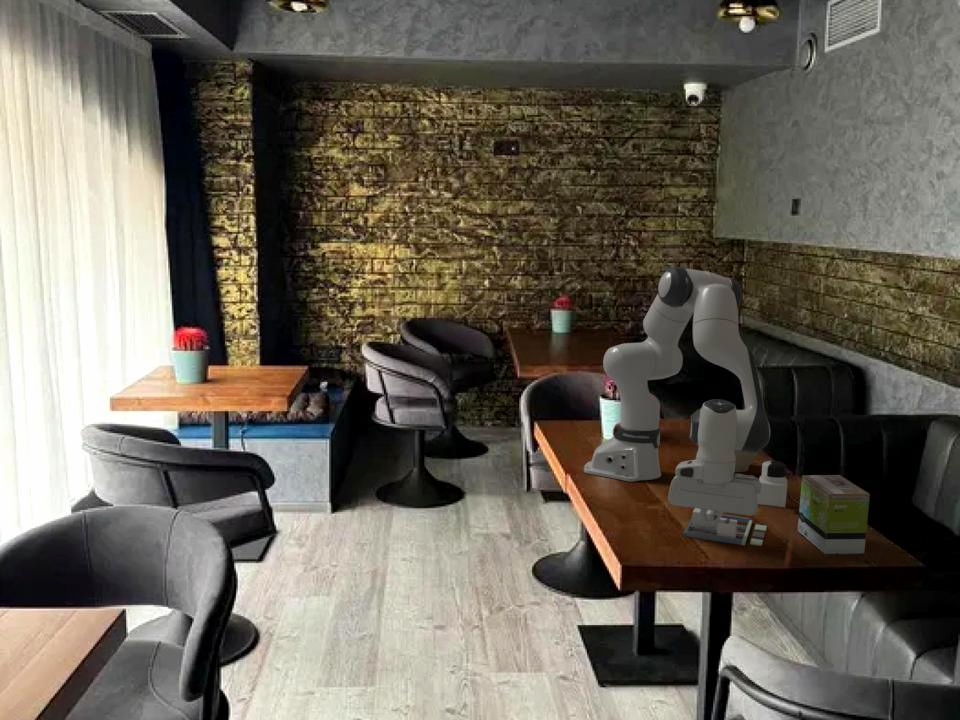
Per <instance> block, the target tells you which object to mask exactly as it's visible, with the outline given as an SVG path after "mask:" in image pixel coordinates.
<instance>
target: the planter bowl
mask: <svg viewBox="0 0 960 720" xmlns="http://www.w3.org/2000/svg"><path fill="white" fill-rule="evenodd" d="M734 453H735V458H736V460H735V472H734V473H743V472H748V470H749V469H750V466H751V464H753V463H754V461H755V460H756V459H757V456H758V455H759V453H760V451H758V452H756V453H751V452H745V451H741V450H734Z"/></svg>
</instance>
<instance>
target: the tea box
mask: <svg viewBox="0 0 960 720" xmlns="http://www.w3.org/2000/svg"><path fill="white" fill-rule="evenodd" d="M800 483H801V485H800V495H799V496H800V498H799V508H798V509H799V510H798V519H797V520H798V521H797V533H800V534H801V535H803V537H804V538H806V540H808V541H809V542H810V543H811V544H813V546H815V547H816V548H817V549H818V550H819V551H820V552H822V554H824V555H858V554H859V555H862V554H865V548H866V538H867V527H868V518H869V507H870V497H871V494H870V493H869V492H867V491H866V490H864V489H863V488H861V487H860V486H858V485H856V484H854V483H853V482H851V481H850V480H848V479H847V478H845V477H843V476H842V475H840V474H820V475H819V474H818V475H817V474H811V475H807V474H806V475H803V474H802V476H801V482H800ZM837 553H838V554H837Z"/></svg>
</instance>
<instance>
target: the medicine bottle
mask: <svg viewBox="0 0 960 720" xmlns="http://www.w3.org/2000/svg"><path fill="white" fill-rule="evenodd" d="M786 477H787V465H786V464H785V463H784V462H781V461H777V460H765V461H764V462H763V463H762V464H761V475H760V476H759V478H758V479H759V481H760V483H761V489H760V493H759V494H758V505H761V506H763V505H764V506H770V507H779V508H786V506H787V505H786V503H787V491H788V479H787V478H786Z"/></svg>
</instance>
